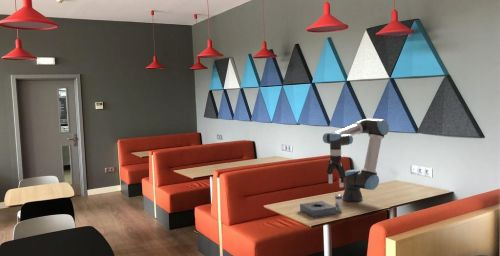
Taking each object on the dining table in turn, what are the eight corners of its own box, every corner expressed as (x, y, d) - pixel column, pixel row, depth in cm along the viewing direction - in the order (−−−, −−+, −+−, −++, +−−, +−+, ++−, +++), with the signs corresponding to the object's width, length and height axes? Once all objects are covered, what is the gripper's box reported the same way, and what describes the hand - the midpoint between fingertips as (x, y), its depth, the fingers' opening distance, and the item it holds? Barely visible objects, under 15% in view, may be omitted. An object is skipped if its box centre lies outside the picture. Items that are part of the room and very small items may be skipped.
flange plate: (321, 207, 297) (321, 201, 297) (336, 214, 281) (335, 207, 280) (300, 211, 290) (300, 204, 290) (313, 217, 274) (313, 210, 274)
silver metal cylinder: (339, 210, 290) (339, 193, 289) (343, 212, 285) (343, 195, 284) (333, 211, 288) (333, 194, 287) (337, 213, 283) (337, 196, 282)
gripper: (321, 153, 293) (321, 182, 295) (341, 158, 270) (341, 189, 272) (330, 152, 296) (330, 181, 298) (350, 157, 273) (351, 188, 275)
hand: (335, 185), depth 285 cm, fingers open, 13 cm apart
